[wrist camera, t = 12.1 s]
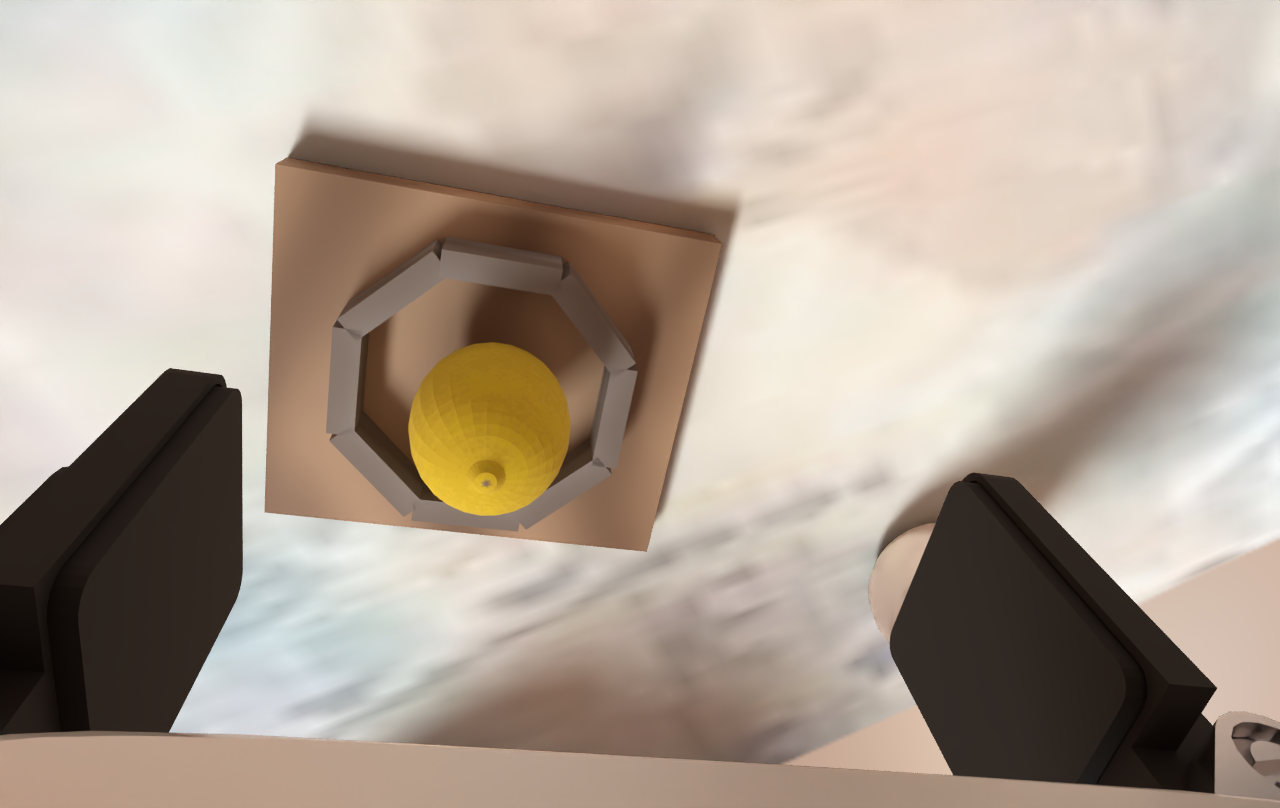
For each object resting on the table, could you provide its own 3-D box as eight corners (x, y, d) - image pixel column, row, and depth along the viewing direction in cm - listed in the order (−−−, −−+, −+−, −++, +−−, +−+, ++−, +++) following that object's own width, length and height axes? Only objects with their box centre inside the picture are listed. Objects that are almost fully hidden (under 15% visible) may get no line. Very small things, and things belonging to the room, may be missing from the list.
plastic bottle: (1007, 559, 42) (1372, 971, 24) (897, 638, 43) (1164, 1085, 25) (942, 479, 39) (1295, 871, 21) (827, 565, 40) (1068, 1003, 22)
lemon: (413, 430, 33) (381, 544, 26) (435, 299, 31) (407, 385, 24) (549, 454, 34) (555, 569, 27) (580, 329, 32) (594, 419, 25)
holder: (714, 234, 33) (732, 256, 30) (642, 532, 38) (652, 576, 35) (286, 157, 30) (260, 172, 27) (274, 493, 35) (251, 537, 32)
